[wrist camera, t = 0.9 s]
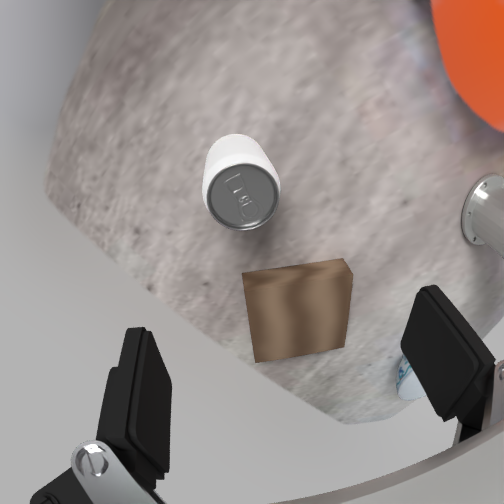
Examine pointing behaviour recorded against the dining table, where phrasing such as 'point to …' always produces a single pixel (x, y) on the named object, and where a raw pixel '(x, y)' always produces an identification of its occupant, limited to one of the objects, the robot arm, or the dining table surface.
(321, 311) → the base
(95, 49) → the dining table surface
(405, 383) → the chinaware
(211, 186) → the can
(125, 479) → the robot arm
